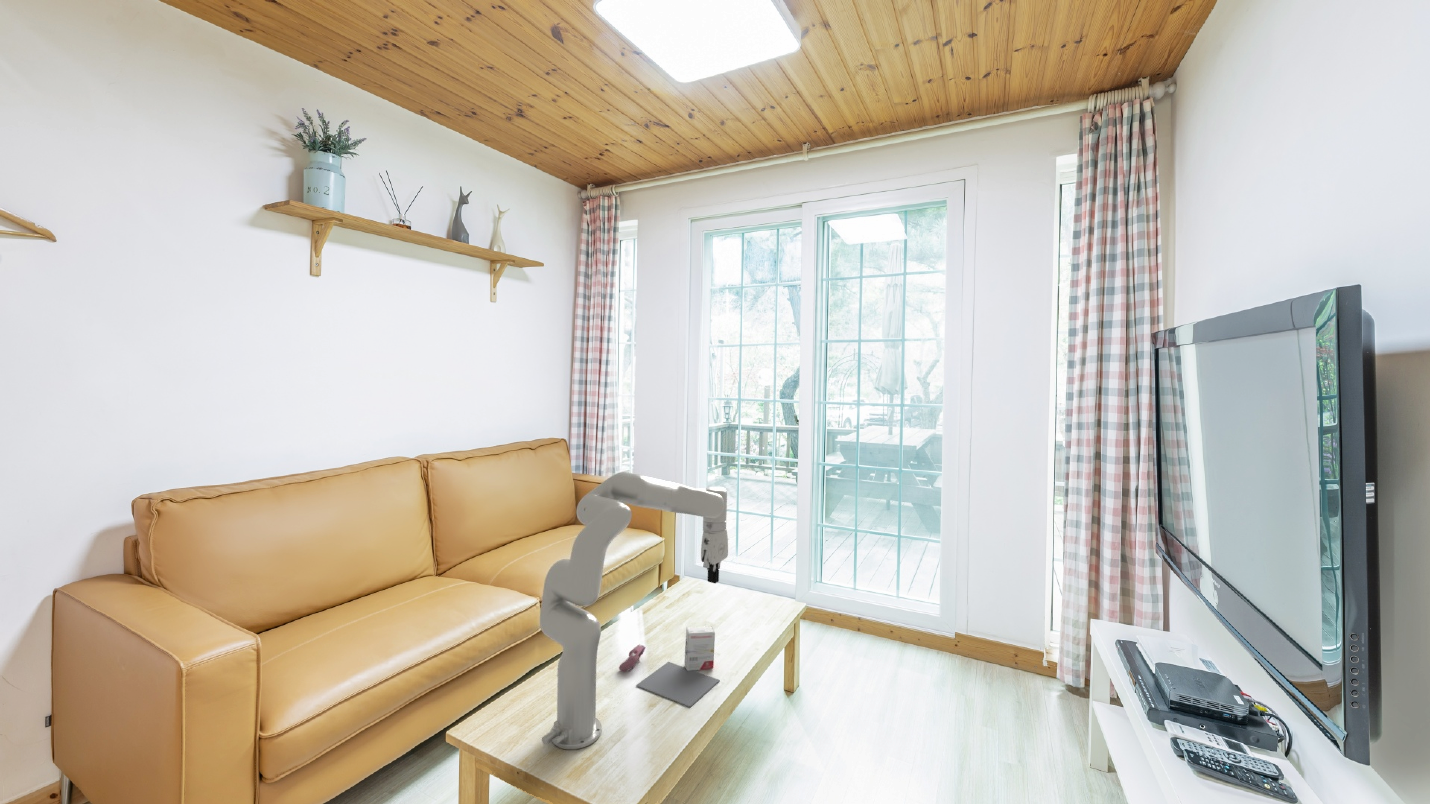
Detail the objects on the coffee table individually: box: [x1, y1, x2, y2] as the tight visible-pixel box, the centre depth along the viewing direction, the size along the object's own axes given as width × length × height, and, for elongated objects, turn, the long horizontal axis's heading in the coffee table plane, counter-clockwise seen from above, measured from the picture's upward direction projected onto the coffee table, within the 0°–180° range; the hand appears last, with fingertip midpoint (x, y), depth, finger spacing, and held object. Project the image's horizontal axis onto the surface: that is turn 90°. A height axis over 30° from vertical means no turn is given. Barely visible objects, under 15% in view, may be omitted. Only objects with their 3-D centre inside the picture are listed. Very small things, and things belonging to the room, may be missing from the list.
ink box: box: [684, 625, 716, 671], centre depth 173 cm, size 9×5×12 cm, turn 103°
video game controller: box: [618, 643, 646, 672], centre depth 174 cm, size 10×5×7 cm, turn 169°
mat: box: [635, 661, 720, 709], centre depth 164 cm, size 16×19×1 cm
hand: (713, 581), depth 179 cm, fingers closed
